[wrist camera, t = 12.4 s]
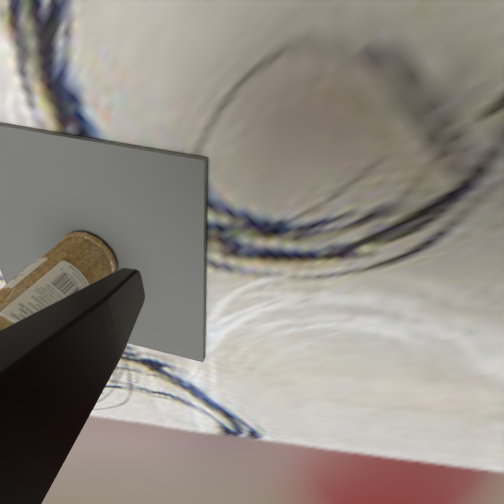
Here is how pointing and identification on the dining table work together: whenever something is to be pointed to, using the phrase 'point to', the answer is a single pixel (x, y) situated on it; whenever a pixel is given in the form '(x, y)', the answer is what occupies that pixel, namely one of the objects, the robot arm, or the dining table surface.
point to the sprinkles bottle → (55, 276)
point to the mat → (113, 221)
